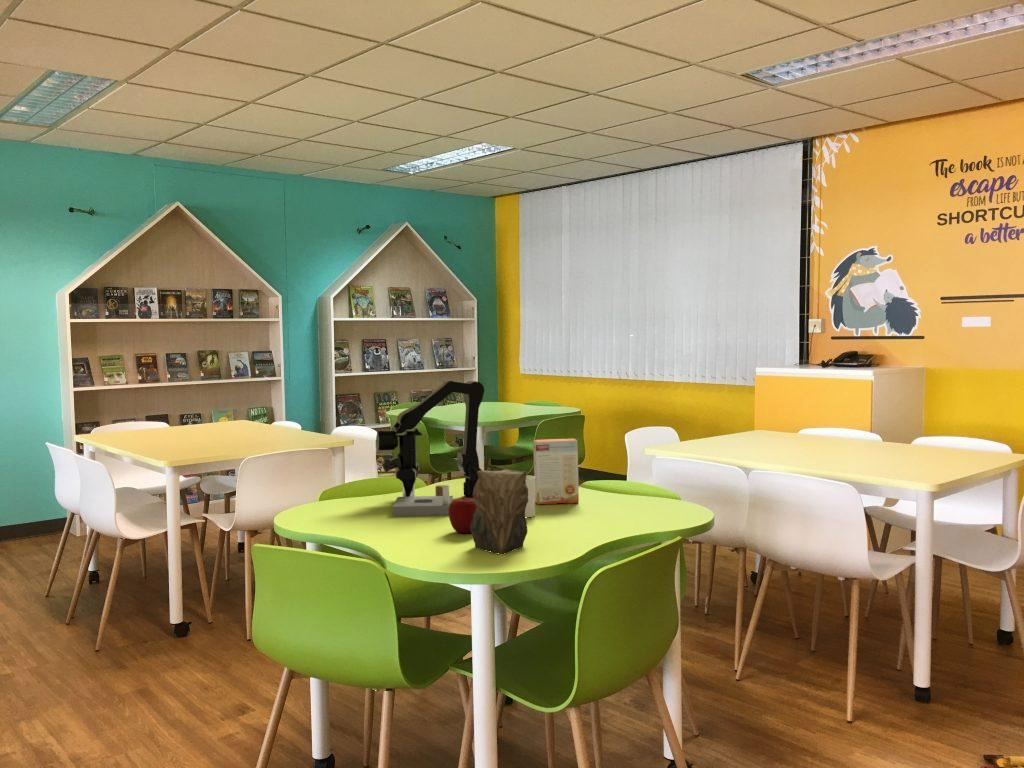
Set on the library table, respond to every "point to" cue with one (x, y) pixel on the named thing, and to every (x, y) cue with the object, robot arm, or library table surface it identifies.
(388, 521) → the library table surface
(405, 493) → the long pin
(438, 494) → the short pin
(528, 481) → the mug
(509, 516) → the owl
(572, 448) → the cracker box
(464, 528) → the apple
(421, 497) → the grey peg base
